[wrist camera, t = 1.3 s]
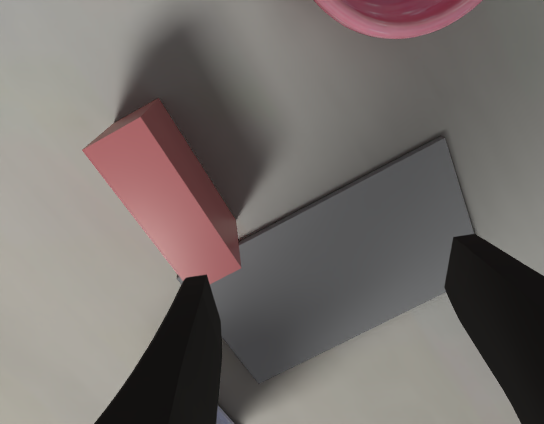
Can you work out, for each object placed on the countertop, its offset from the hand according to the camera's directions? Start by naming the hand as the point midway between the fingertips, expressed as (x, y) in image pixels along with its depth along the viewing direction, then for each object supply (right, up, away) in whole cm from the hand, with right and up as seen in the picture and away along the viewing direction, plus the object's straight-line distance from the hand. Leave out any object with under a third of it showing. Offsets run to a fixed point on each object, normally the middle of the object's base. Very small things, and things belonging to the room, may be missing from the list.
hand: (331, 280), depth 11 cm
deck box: (-8, +4, +13) cm, 15 cm away
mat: (+3, -2, +17) cm, 18 cm away
